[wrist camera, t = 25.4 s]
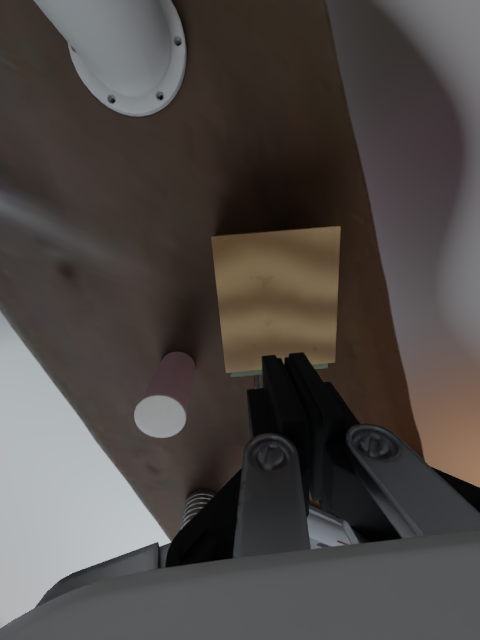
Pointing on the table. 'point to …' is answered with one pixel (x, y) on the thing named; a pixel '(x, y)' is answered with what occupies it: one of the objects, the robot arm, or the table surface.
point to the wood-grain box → (277, 294)
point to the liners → (166, 397)
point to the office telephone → (325, 529)
